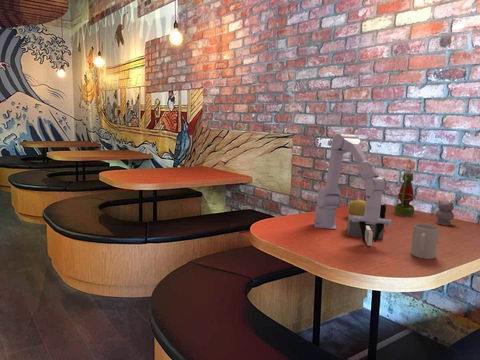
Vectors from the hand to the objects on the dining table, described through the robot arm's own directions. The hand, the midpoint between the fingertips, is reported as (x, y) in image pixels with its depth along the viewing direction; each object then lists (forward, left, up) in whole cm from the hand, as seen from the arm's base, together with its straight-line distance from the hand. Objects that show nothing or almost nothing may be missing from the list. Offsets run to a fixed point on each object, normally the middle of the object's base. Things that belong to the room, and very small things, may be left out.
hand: (369, 241), depth 155 cm
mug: (+18, -7, -2) cm, 20 cm away
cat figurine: (+43, +55, -2) cm, 69 cm away
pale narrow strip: (0, +4, -2) cm, 4 cm away
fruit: (0, +48, -2) cm, 48 cm away
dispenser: (0, +17, -2) cm, 17 cm away
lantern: (+27, +71, -2) cm, 76 cm away
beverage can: (+7, +31, -2) cm, 31 cm away
